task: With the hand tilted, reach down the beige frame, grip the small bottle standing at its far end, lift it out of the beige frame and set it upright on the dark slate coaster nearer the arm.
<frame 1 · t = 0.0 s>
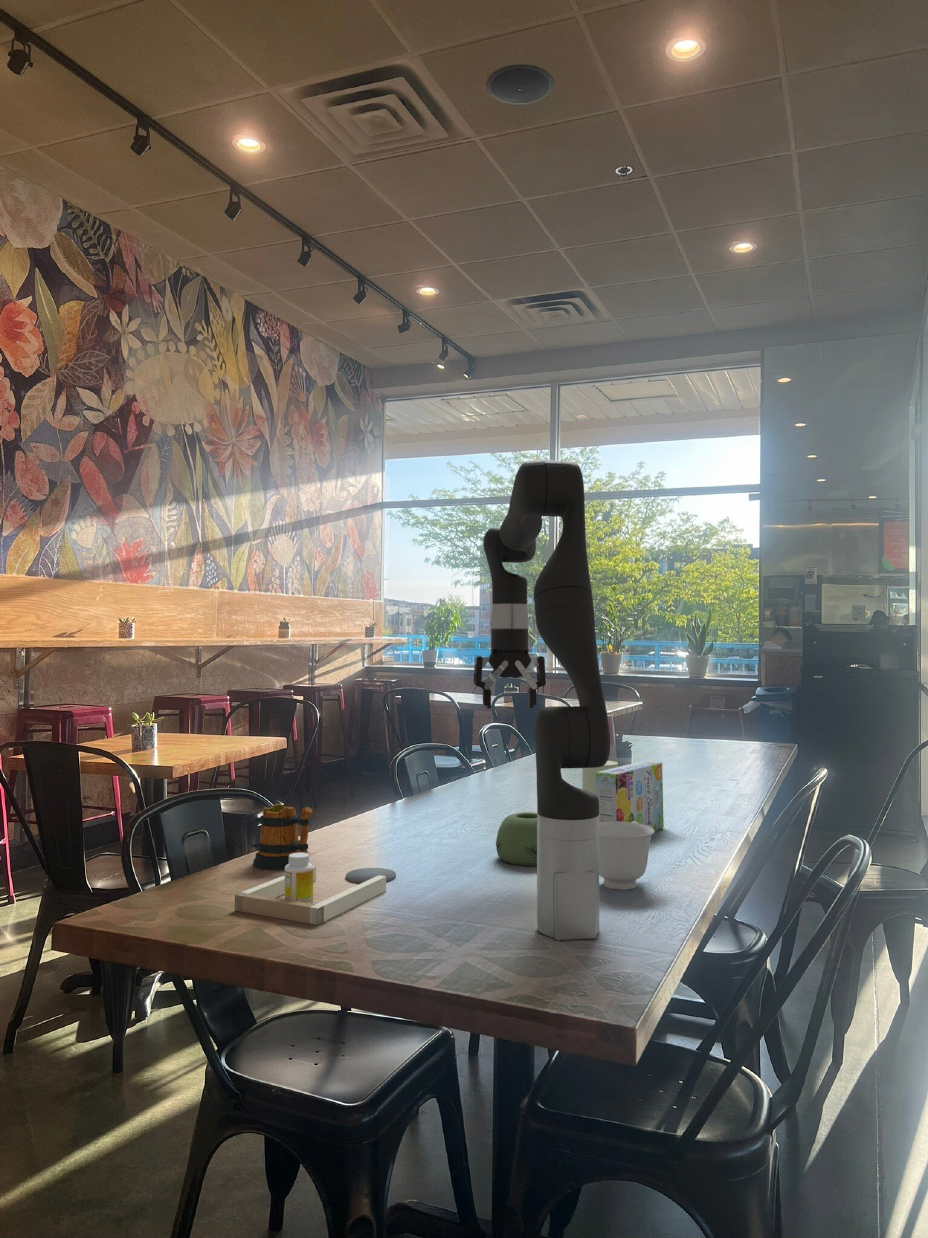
hand: (509, 708, 178), 29 cm above the table, tool pointing down, fingers open, 8 cm apart
coaster: (371, 877, 162), on the table
snack box: (630, 836, 197), on the table
teacup: (622, 884, 158), on the table
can: (599, 809, 227), on the table
mug 2: (531, 859, 176), on the table
supplement bottle: (298, 908, 144), on the table
mug: (284, 866, 171), on the table
beige frame: (313, 900, 148), on the table
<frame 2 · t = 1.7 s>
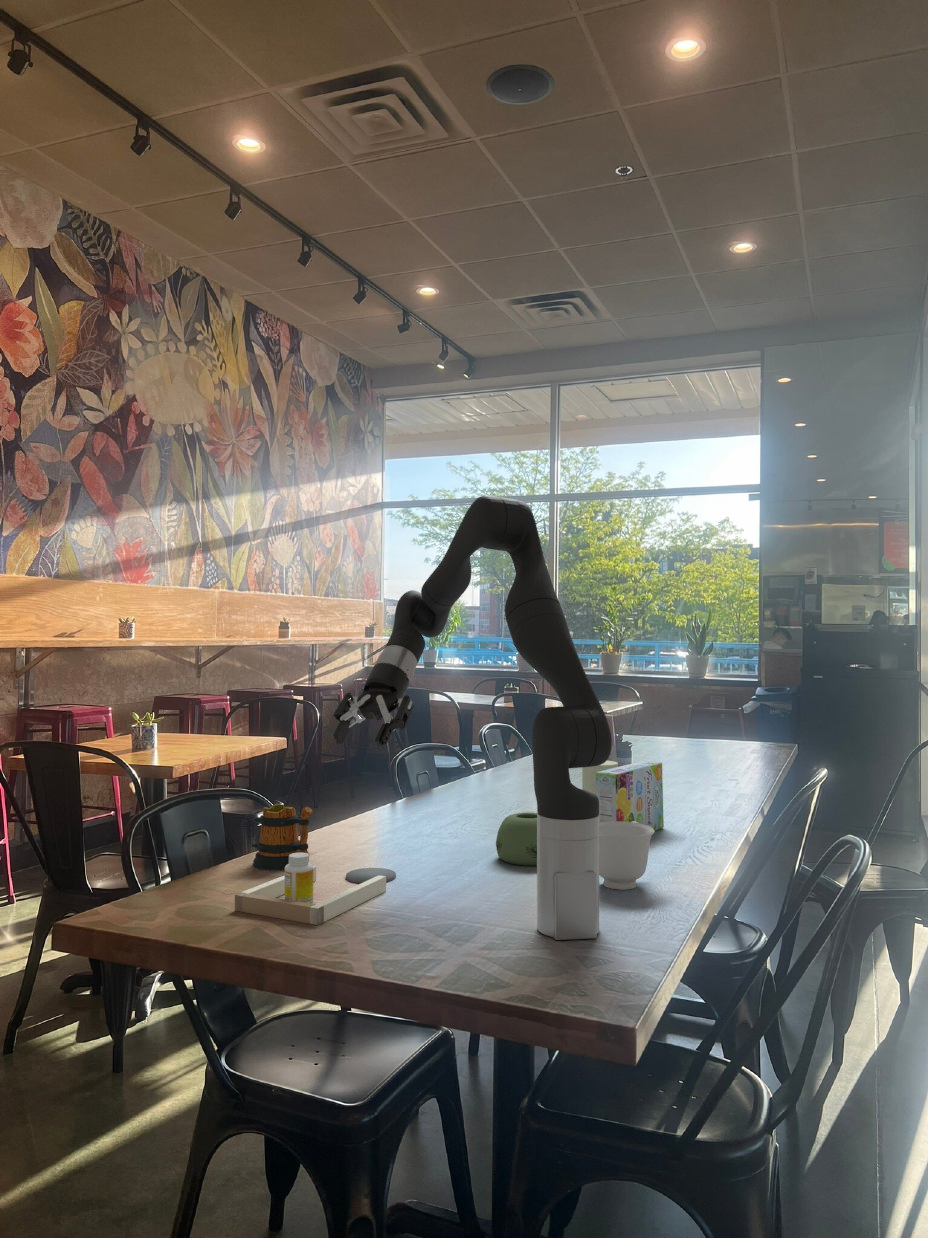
hand: (358, 742, 158), 25 cm above the table, tool tilted 45°, fingers open, 8 cm apart
nothing on the table moved.
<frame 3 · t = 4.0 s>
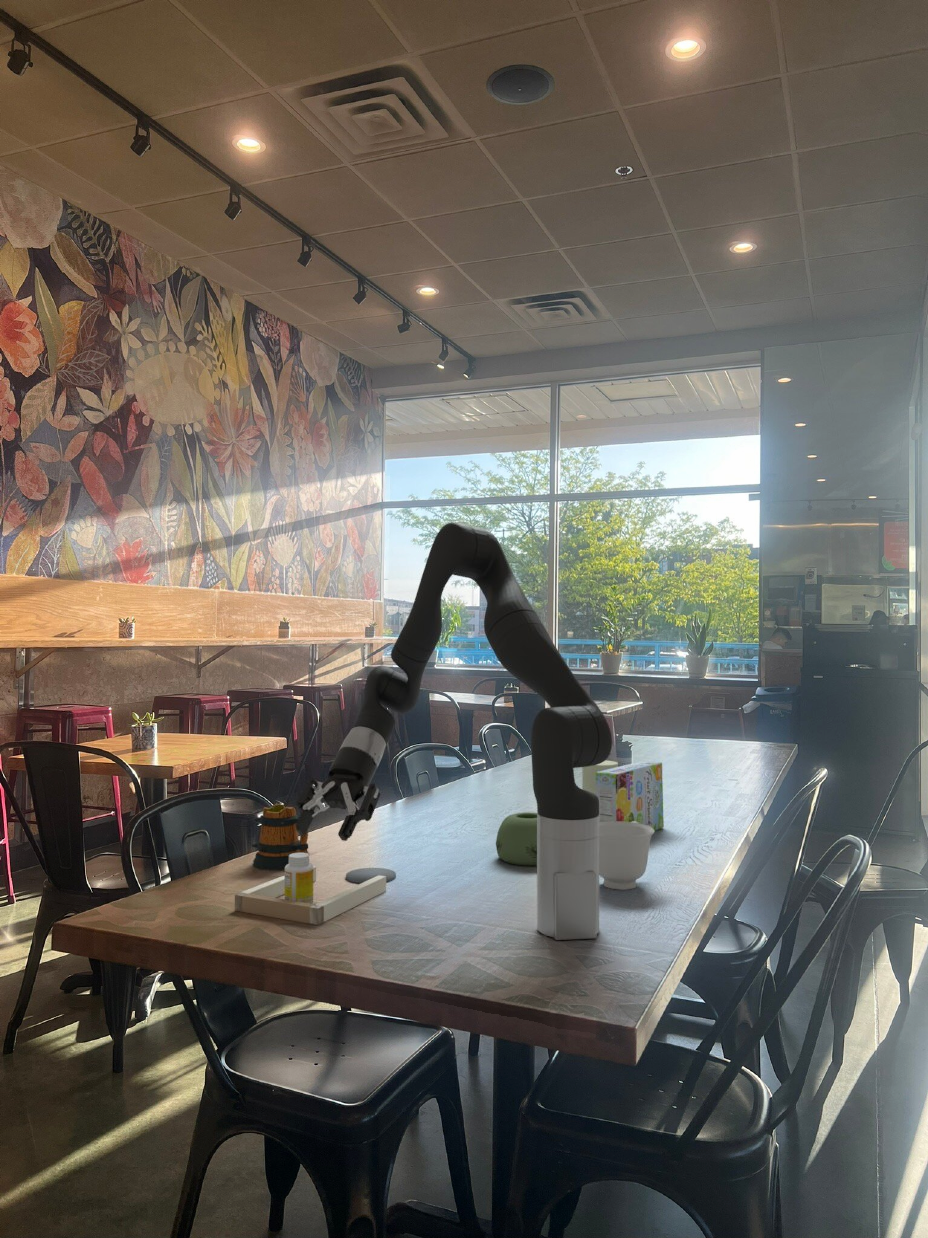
hand: (320, 835, 150), 10 cm above the table, tool tilted 45°, fingers open, 8 cm apart
nothing on the table moved.
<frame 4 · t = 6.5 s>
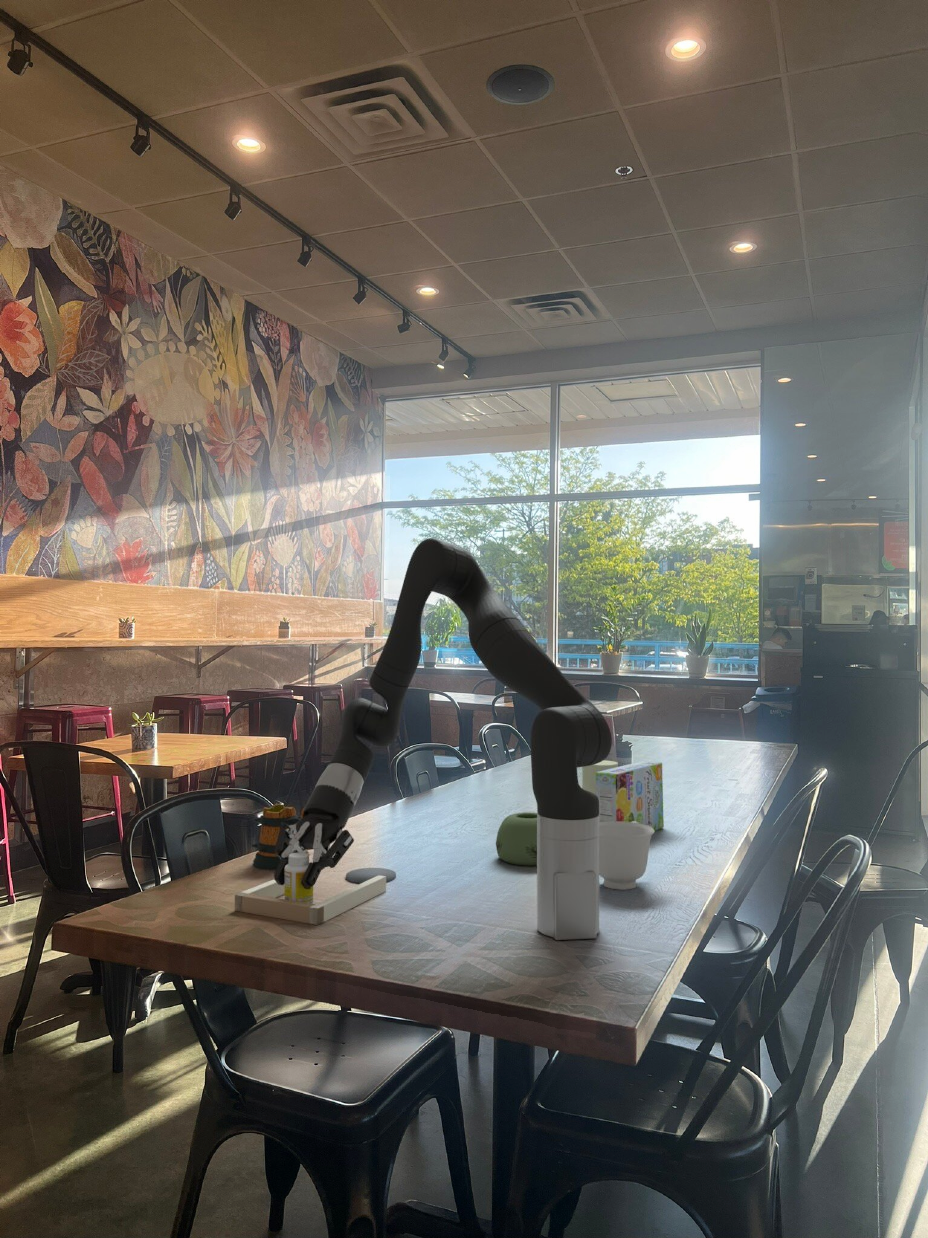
hand: (291, 884, 142), 4 cm above the table, tool tilted 45°, fingers closed on supplement bottle, 4 cm apart
supplement bottle: (298, 908, 144), on the table, touching gripper
everything else where it was.
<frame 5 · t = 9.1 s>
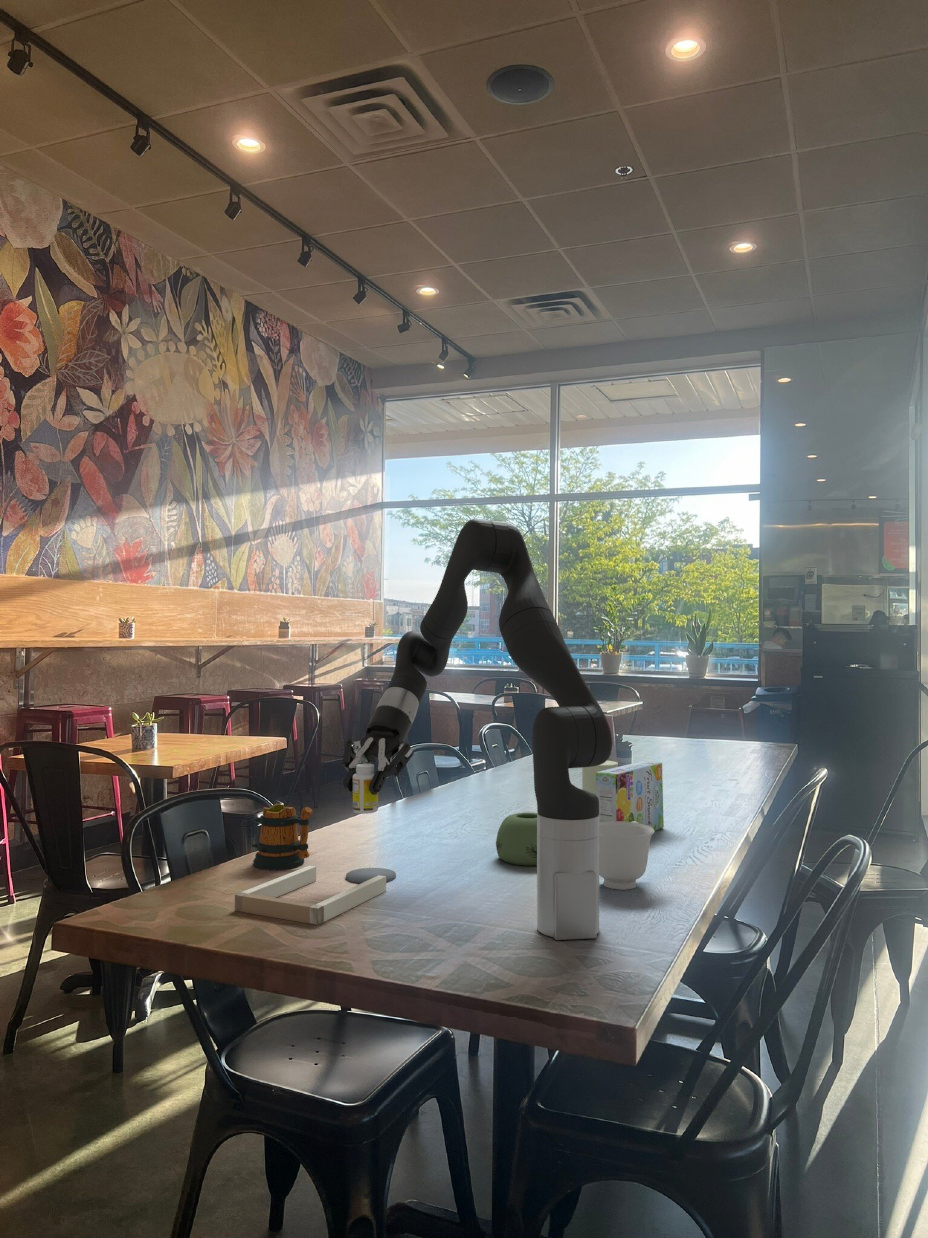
hand: (359, 790, 159), 16 cm above the table, tool tilted 45°, fingers closed on supplement bottle, 4 cm apart
supplement bottle: (365, 812, 161), point 12 cm above the table, touching gripper
everything else where it was.
when the fingers open (5 cm above the table, at t = 11.7 s): supplement bottle stays where it is, resting on coaster.
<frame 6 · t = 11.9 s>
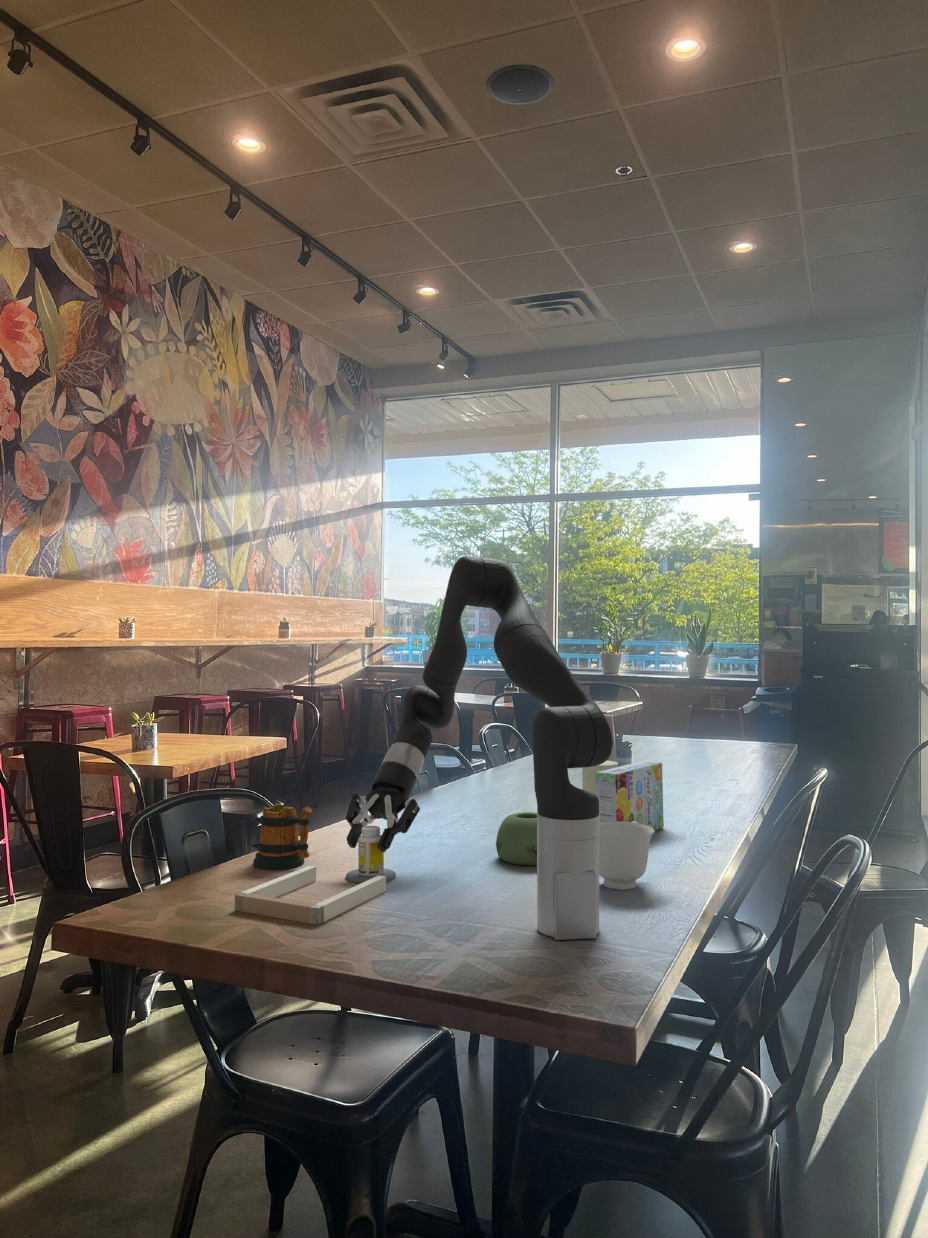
hand: (365, 847, 160), 6 cm above the table, tool tilted 45°, fingers open, 6 cm apart
supplement bottle: (371, 875, 162), resting on coaster
everything else where it was.
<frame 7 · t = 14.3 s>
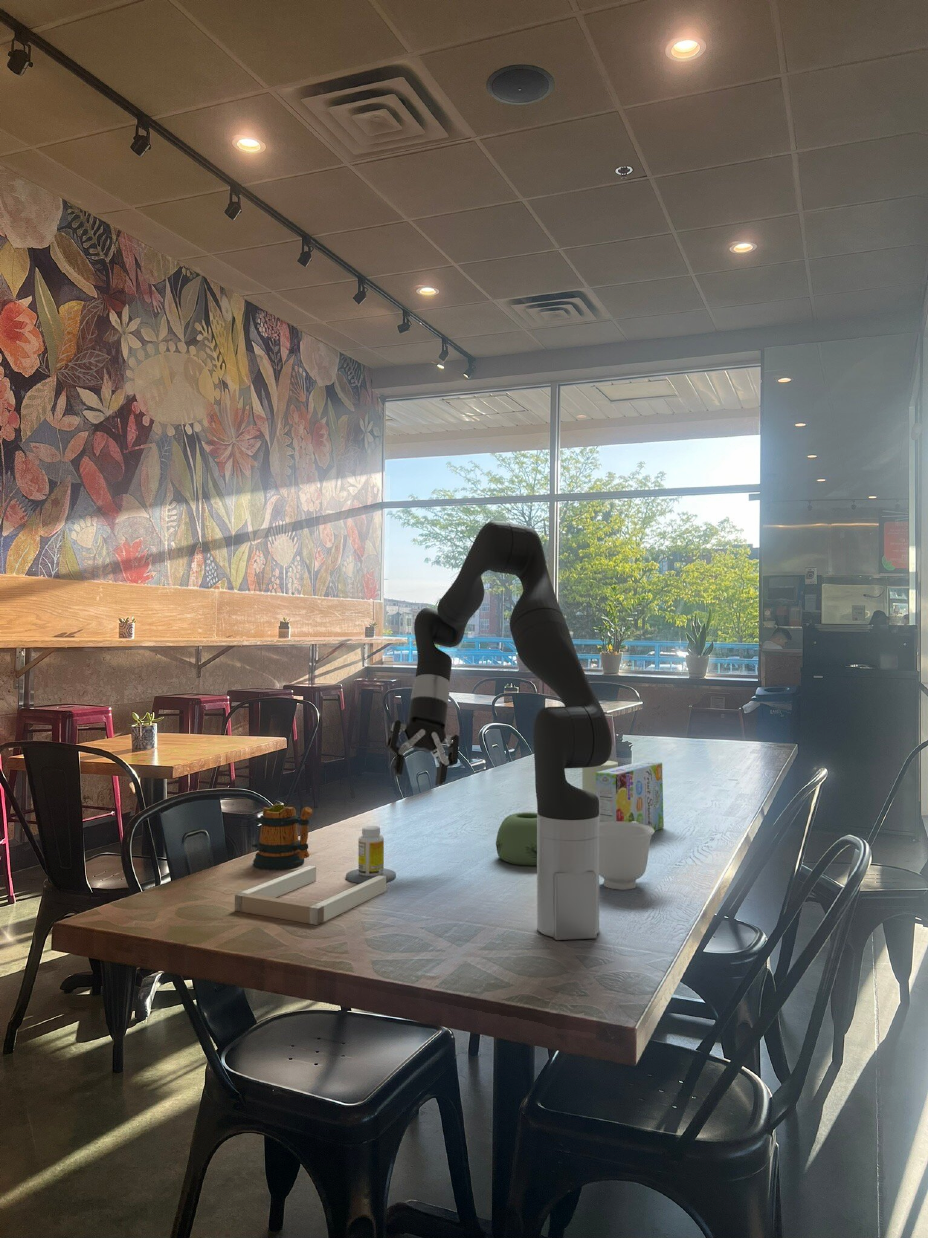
hand: (418, 780, 172), 16 cm above the table, tool tilted 25°, fingers open, 8 cm apart
nothing on the table moved.
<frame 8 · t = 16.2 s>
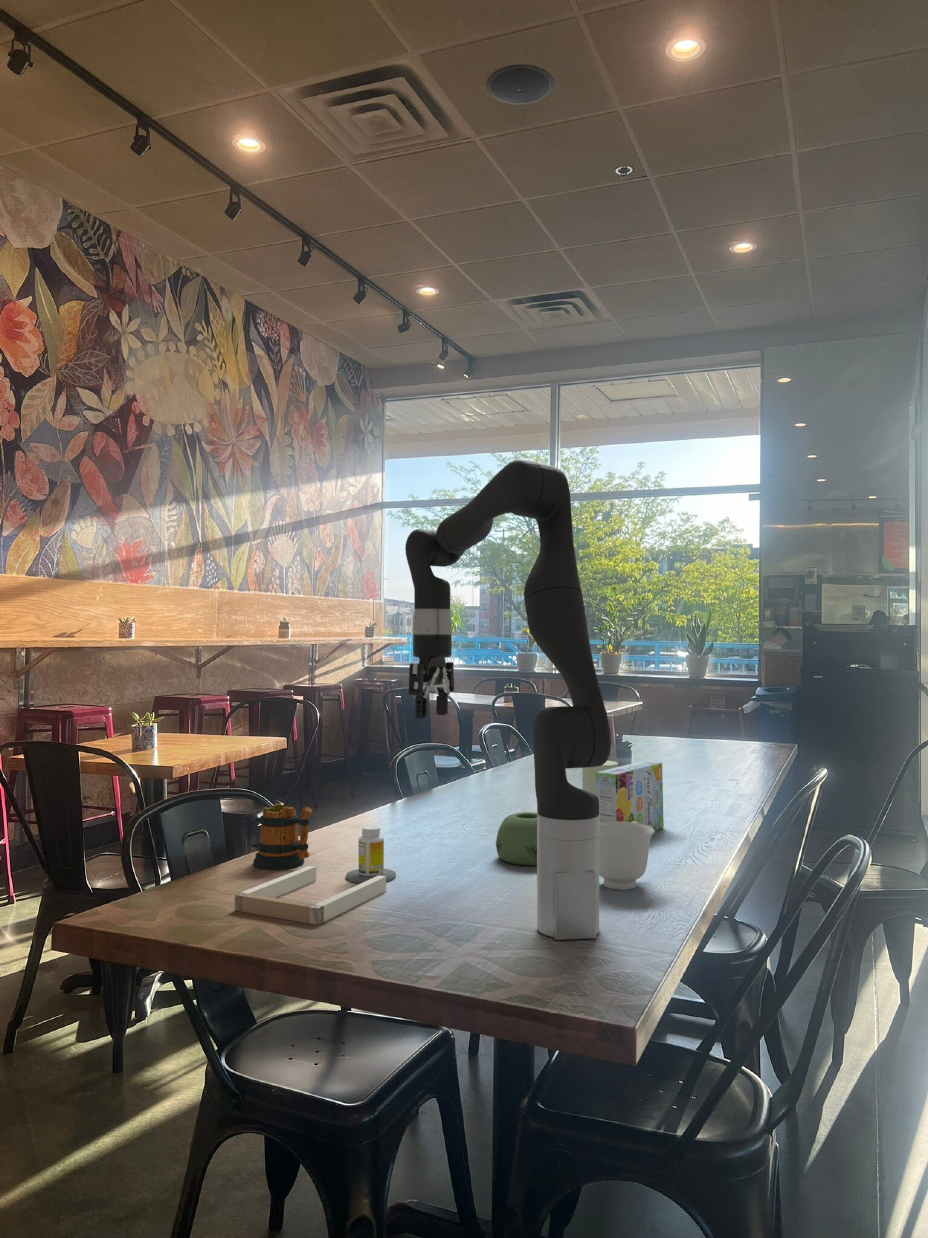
hand: (432, 716, 173), 28 cm above the table, tool pointing down, fingers open, 8 cm apart
nothing on the table moved.
at the end: supplement bottle 0.2 cm from the coaster (horizontally); supplement bottle tilted 0°; the gripper is holding nothing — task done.
